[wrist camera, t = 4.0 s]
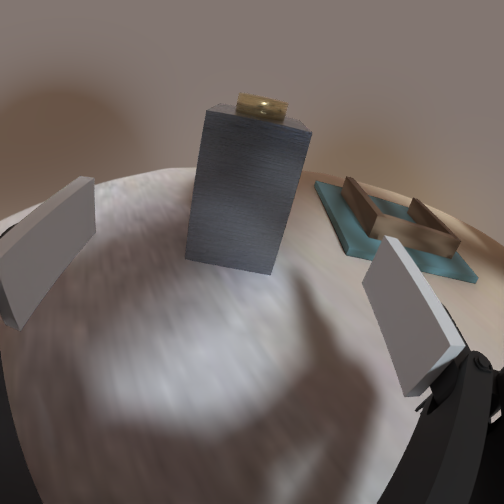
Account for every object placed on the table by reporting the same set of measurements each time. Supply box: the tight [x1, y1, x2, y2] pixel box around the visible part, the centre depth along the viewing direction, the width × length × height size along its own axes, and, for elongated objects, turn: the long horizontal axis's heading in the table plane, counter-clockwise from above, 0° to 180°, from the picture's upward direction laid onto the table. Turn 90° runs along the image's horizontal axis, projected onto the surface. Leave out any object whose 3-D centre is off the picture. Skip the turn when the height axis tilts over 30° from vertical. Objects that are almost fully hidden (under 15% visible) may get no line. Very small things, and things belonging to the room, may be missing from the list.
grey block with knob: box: [185, 93, 312, 275], centre depth 20 cm, size 6×6×11 cm
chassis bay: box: [314, 177, 478, 283], centre depth 33 cm, size 18×18×3 cm
